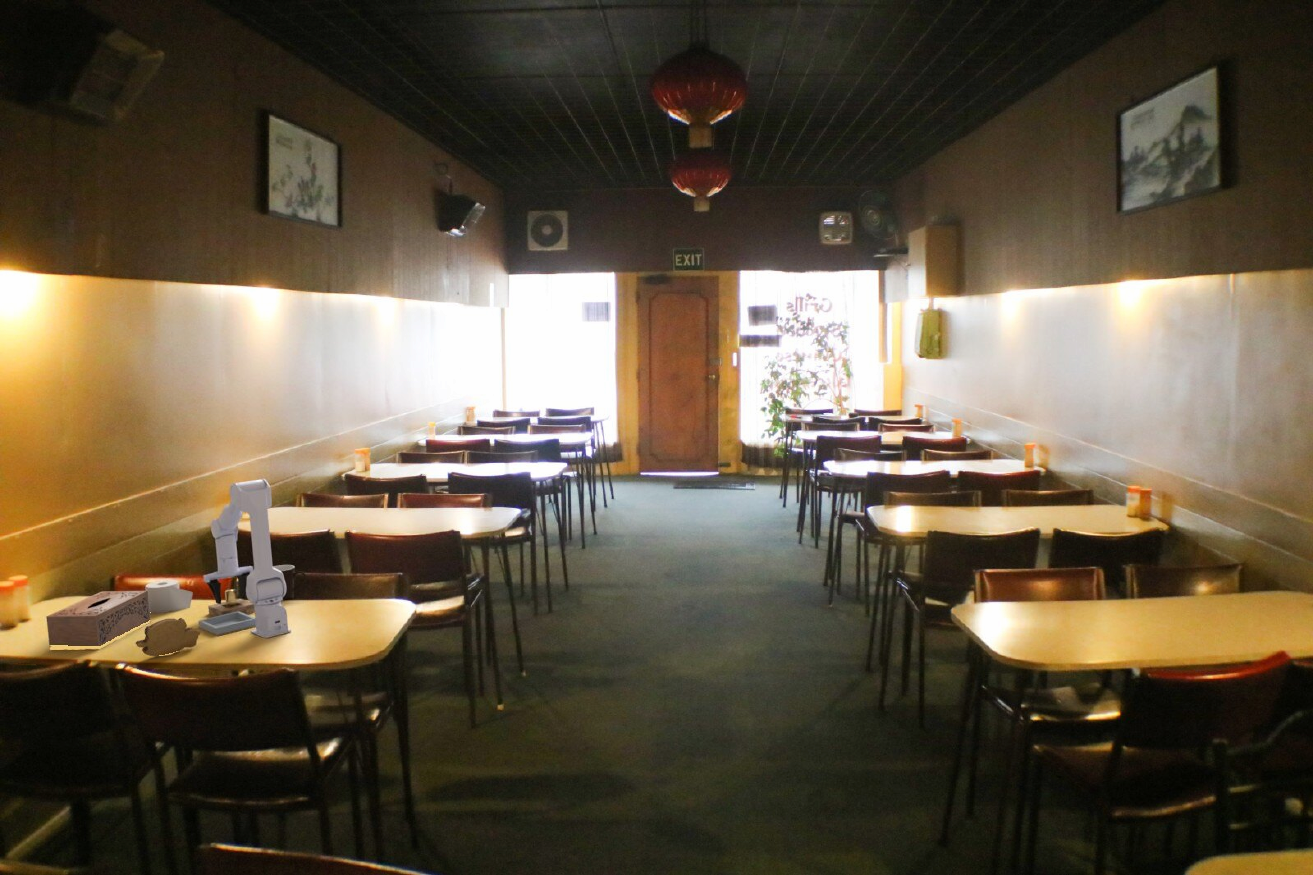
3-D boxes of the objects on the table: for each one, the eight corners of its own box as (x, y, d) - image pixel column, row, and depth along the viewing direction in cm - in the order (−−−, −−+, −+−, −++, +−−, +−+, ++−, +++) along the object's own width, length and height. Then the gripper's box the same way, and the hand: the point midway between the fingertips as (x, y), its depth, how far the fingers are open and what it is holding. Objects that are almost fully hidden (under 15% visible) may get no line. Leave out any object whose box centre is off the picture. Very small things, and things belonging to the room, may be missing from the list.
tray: (257, 626, 309) (256, 618, 309) (216, 636, 301) (215, 628, 301) (239, 619, 318) (238, 611, 317) (199, 629, 309) (198, 620, 309)
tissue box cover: (99, 650, 293) (95, 616, 292) (50, 651, 294) (46, 616, 293) (150, 623, 318) (147, 590, 317) (105, 623, 320) (101, 591, 318)
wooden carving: (194, 644, 294) (191, 610, 293) (202, 647, 291) (199, 612, 290) (134, 661, 282) (130, 624, 281) (141, 664, 279) (138, 627, 278)
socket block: (255, 613, 323) (254, 604, 323) (223, 621, 316) (222, 611, 316) (241, 607, 330) (240, 598, 330) (209, 615, 323) (208, 605, 323)
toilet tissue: (195, 609, 331) (193, 582, 330) (149, 616, 325) (146, 589, 324) (192, 602, 339) (189, 576, 338) (146, 609, 332) (144, 583, 331)
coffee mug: (262, 600, 338) (260, 570, 337) (283, 593, 345) (281, 564, 344) (289, 604, 332) (286, 573, 331) (309, 597, 340) (307, 567, 339)
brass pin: (239, 612, 323) (237, 590, 322) (229, 614, 321) (227, 592, 320) (234, 610, 325) (232, 588, 325) (225, 613, 323) (223, 590, 322)
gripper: (244, 550, 329) (248, 593, 331) (197, 559, 319) (201, 603, 320) (254, 553, 324) (258, 596, 326) (207, 563, 314) (211, 607, 316)
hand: (231, 600), depth 323 cm, fingers open, 7 cm apart
